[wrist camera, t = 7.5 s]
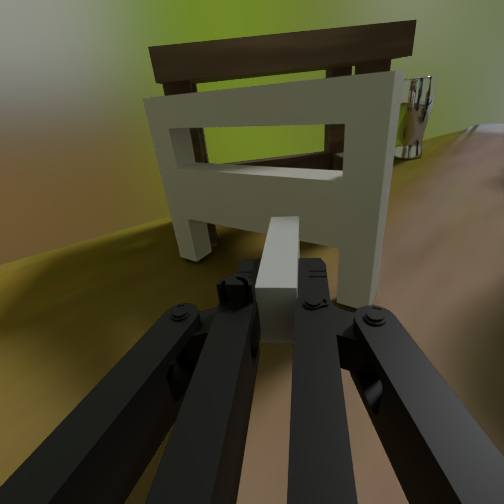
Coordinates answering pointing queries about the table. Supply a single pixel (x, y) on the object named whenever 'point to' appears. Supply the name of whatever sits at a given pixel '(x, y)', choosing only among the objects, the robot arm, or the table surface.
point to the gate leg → (287, 169)
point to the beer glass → (414, 115)
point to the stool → (282, 62)
